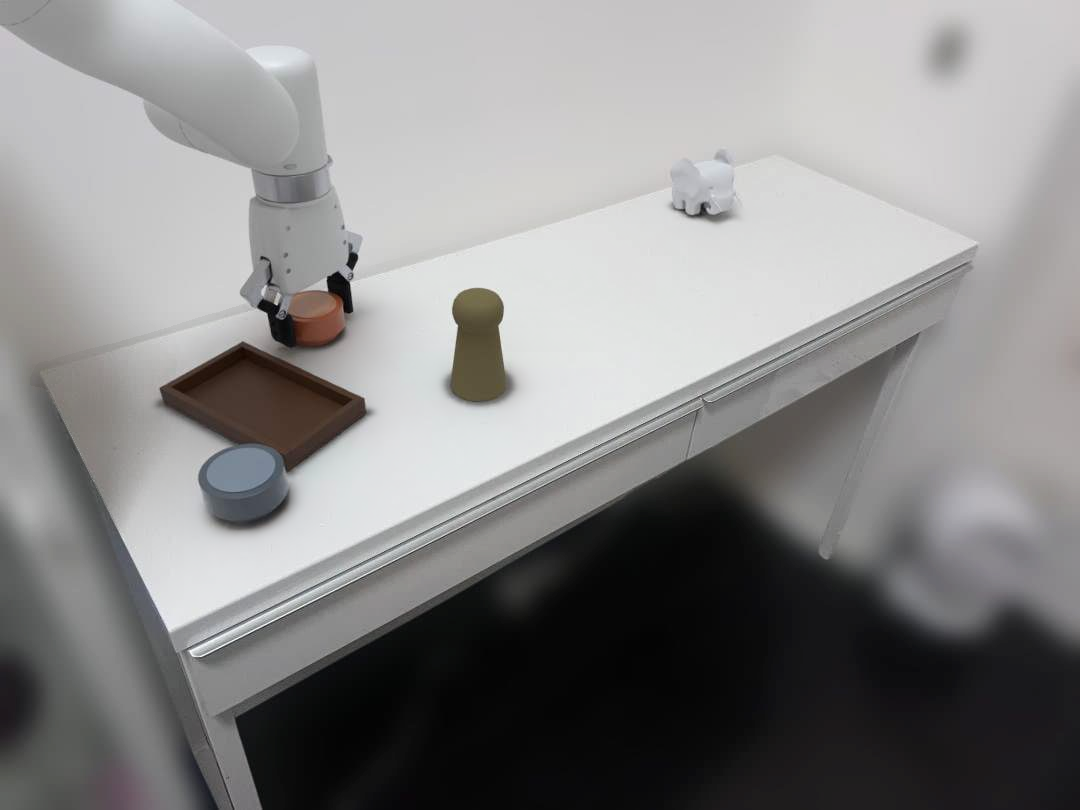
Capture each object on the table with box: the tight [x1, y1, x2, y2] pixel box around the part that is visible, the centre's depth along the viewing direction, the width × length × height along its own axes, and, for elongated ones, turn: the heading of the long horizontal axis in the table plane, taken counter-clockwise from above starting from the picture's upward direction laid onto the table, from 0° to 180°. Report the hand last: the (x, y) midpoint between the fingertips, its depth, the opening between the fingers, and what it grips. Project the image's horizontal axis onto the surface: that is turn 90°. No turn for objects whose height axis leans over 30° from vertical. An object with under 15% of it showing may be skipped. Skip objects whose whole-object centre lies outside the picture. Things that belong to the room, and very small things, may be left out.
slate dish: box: [197, 444, 289, 524], centre depth 70 cm, size 7×7×4 cm
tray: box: [158, 341, 367, 472], centre depth 81 cm, size 11×18×2 cm, turn 57°
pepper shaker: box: [449, 287, 507, 403], centre depth 83 cm, size 6×6×11 cm
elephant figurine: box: [668, 146, 743, 216], centre depth 122 cm, size 10×12×9 cm
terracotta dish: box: [287, 289, 346, 347], centre depth 92 cm, size 7×7×4 cm
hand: (314, 325), depth 92 cm, fingers open, 8 cm apart
